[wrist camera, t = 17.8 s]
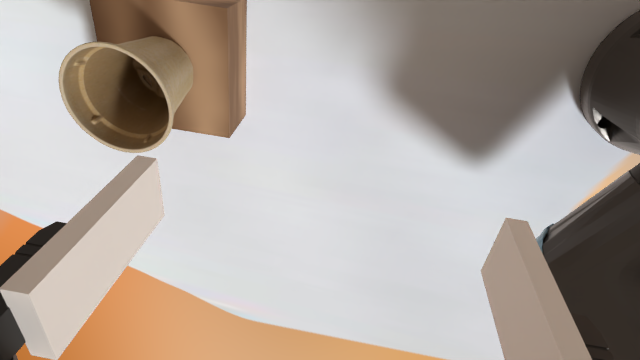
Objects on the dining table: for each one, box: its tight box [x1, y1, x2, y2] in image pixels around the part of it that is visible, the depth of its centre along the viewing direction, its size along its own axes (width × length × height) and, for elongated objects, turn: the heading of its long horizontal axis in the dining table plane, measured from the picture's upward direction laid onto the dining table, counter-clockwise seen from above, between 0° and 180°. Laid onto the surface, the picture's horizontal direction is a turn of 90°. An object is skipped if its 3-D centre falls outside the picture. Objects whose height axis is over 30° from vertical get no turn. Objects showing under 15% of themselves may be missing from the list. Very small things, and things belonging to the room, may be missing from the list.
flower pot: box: [59, 36, 193, 153], centre depth 36 cm, size 9×9×9 cm
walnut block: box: [90, 0, 247, 138], centre depth 42 cm, size 13×13×6 cm
